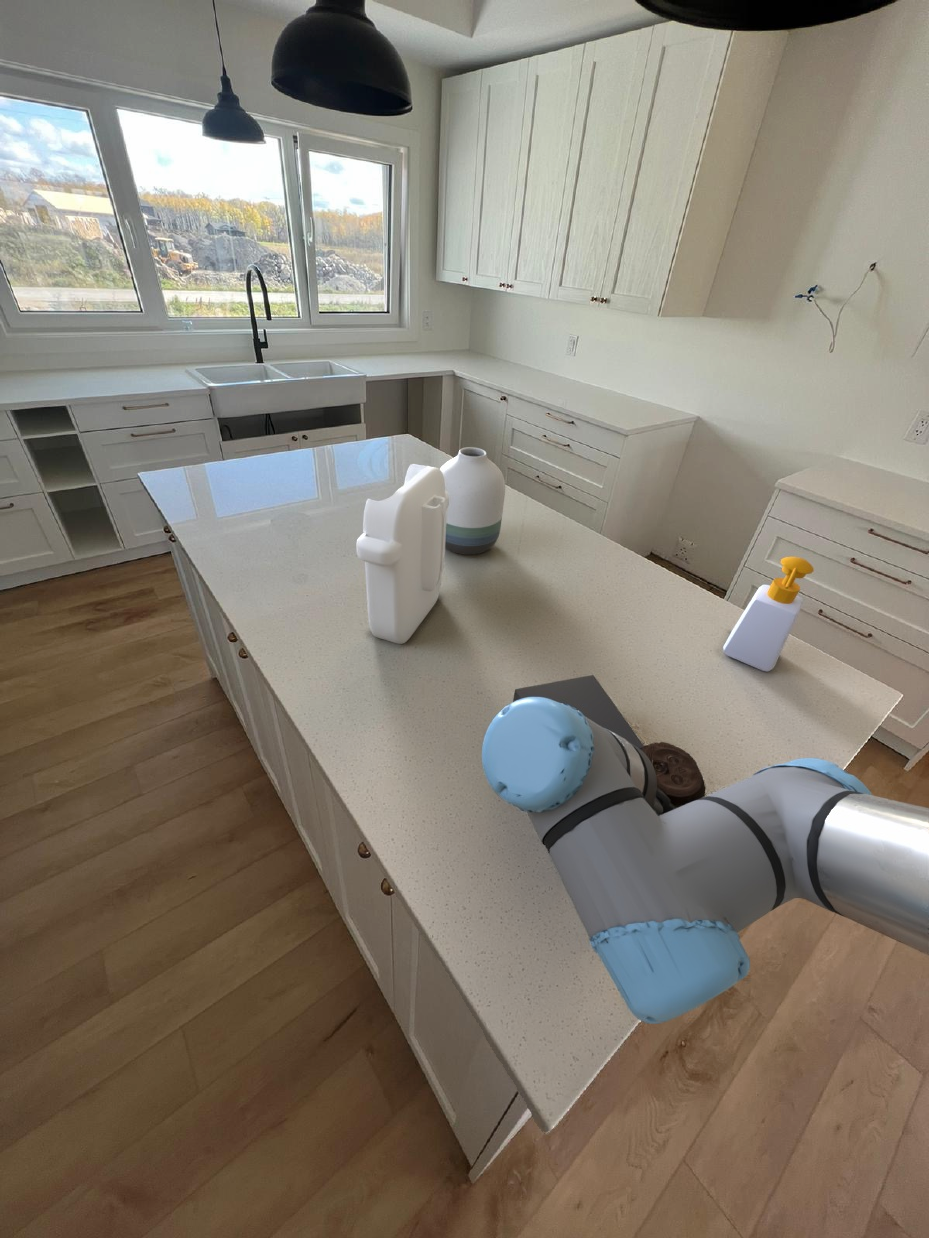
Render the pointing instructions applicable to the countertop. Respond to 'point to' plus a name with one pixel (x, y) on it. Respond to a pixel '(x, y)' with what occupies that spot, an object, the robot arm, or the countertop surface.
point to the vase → (473, 501)
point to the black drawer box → (584, 703)
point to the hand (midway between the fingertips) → (667, 799)
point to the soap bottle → (768, 618)
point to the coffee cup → (675, 773)
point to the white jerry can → (404, 553)
